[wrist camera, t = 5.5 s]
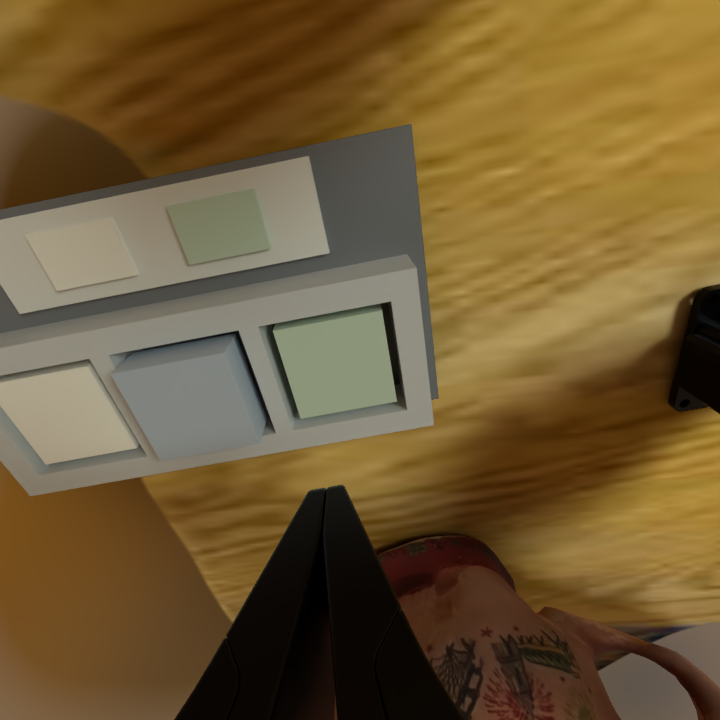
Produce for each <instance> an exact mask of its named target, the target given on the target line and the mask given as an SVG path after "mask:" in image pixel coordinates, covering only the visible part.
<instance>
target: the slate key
mask: <svg viewBox="0 0 720 720" xmlns="http://www.w3.org/2000/svg"><path fill="white" fill-rule="evenodd" d="M110 375H111V376H112V378H113V380H114V381H115V383H116V385H117V387H118V388H119V390H120V392H121V394H122V395H123V397H124V399H125V401H126V402H127V404H128V406H129V407H130V409H131V411H132V413H133V414H134V416H135V418H136V420H137V421H138V423H139V425H140V427H141V428H142V430H143V432H144V434H145V435H146V437H147V439H148V440H149V442H150V444H151V446H152V447H153V449H154V451H155V453H156V454H157V456H158V458H159V460H160V461H163V460H169V459H175V458H180V457H186V456H192V455H197V454H203V453H208V452H214V451H220V450H225V449H231V448H237V447H242V446H248V445H253V444H259V443H260V442H261V438H262V435H263V431H264V427H265V424H266V420H267V417H266V414H265V411H264V409H263V406H262V403H261V401H260V398H259V395H258V393H257V390H256V387H255V385H254V382H253V379H252V376H251V374H250V371H249V368H248V366H247V363H246V360H245V358H244V355H243V352H242V349H241V347H240V344H239V341H238V339H237V336H236V333H234V334H229V335H224V336H219V337H213V338H208V339H203V340H198V341H192V342H187V343H182V344H176V345H171V346H166V347H161V348H155V349H150V350H145V351H140V352H134V353H132V354H131V355H130V356H129V357H128V358H127V359H126V360H125V361H124V362H123V363H121V364H120V365H119V366H118V367H117V368H116V369H115V370H114V371H113V372H112V373H111V374H110Z"/></svg>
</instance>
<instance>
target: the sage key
mask: <svg viewBox="0 0 720 720" xmlns="http://www.w3.org/2000/svg"><path fill="white" fill-rule="evenodd" d="M273 334H274V337H275V340H276V343H277V346H278V349H279V352H280V356H281V359H282V362H283V365H284V368H285V371H286V374H287V378H288V381H289V384H290V387H291V390H292V393H293V396H294V400H295V403H296V406H297V409H298V412H299V415H300V418H301V419H303V418H309V417H314V416H320V415H325V414H331V413H336V412H342V411H347V410H353V409H359V408H364V407H370V406H375V405H381V404H386V403H392V402H397V399H396V392H395V386H394V380H393V374H392V368H391V362H390V356H389V350H388V344H387V337H386V331H385V325H384V319H383V313H382V308H381V305H380V304H375V305H369V306H364V307H359V308H354V309H348V310H343V311H338V312H333V313H327V314H322V315H317V316H312V317H306V318H301V319H296V320H291V321H285V322H280V323H276V324H275V326H274V329H273Z"/></svg>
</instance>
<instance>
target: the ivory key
mask: <svg viewBox="0 0 720 720" xmlns="http://www.w3.org/2000/svg"><path fill="white" fill-rule="evenodd" d="M0 406H1V408H2V409H3V410H4V411H5V413H6V414H7V415H8V417H9V418H10V419H11V420H12V422H13V423H14V424H15V426H16V427H17V428H18V430H19V431H20V432H21V433H22V435H23V436H24V437H25V439H26V440H27V441H28V442H29V444H30V445H31V446H32V448H33V449H34V450H35V452H36V453H37V454H38V455H39V457H40V458H41V459H42V461H43V462H44V463H45V464H52V463H58V462H63V461H69V460H74V459H80V458H85V457H91V456H97V455H102V454H108V453H113V452H119V451H124V450H130V449H136V448H137V447H138V446H139V444H140V443H139V442H138V440H137V438H136V437H135V435H134V433H133V431H132V430H131V428H130V426H129V425H128V423H127V421H126V420H125V418H124V416H123V415H122V413H121V411H120V410H119V408H118V406H117V405H116V403H115V401H114V399H113V398H112V396H111V394H110V393H109V391H108V389H107V388H106V386H105V384H104V383H103V381H102V379H101V378H100V376H99V374H98V373H97V371H96V369H95V367H94V366H93V364H92V362H91V361H90V359H86V360H80V361H75V362H70V363H65V364H59V365H54V366H49V367H44V368H38V369H33V370H28V371H23V372H17V373H12V374H7V375H2V376H0Z"/></svg>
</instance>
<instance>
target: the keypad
mask: <svg viewBox="0 0 720 720" xmlns="http://www.w3.org/2000/svg"><path fill="white" fill-rule="evenodd" d="M375 304H380V305H381V308H382V313H383V319H384V325H385V331H386V337H387V344H388V350H389V356H390V362H391V368H392V374H393V380H394V386H395V392H396V399H397V402H392V403H386V404H381V405H375V406H370V407H364V408H359V409H353V410H347V411H342V412H336V413H331V414H325V415H320V416H314V417H309V418H303V419H301V418H300V415H299V412H298V409H297V406H296V403H295V400H294V396H293V393H292V390H291V387H290V384H289V381H288V378H287V374H286V371H285V368H284V365H283V362H282V359H281V356H280V352H279V349H278V346H277V343H276V340H275V337H274V334H273V329H274V326H275V324H276V323H280V322H285V321H291V320H296V319H301V318H306V317H312V316H317V315H322V314H327V313H333V312H338V311H343V310H348V309H354V308H359V307H364V306H369V305H375ZM234 333H236V336H237V339H238V341H239V344H240V347H241V349H242V352H243V355H244V358H245V360H246V363H247V366H248V368H249V371H250V374H251V376H252V379H253V382H254V385H255V387H256V390H257V393H258V395H259V398H260V401H261V403H262V406H263V409H264V411H265V414H266V417H267V420H266V424H265V427H264V431H263V435H262V438H261V442H260V443H259V444H253V445H248V446H242V447H237V448H231V449H225V450H220V451H214V452H208V453H203V454H197V455H192V456H186V457H180V458H175V459H169V460H163V461H160V460H159V458H158V456H157V454H156V453H155V451H154V449H153V447H152V446H151V444H150V442H149V440H148V439H147V437H146V435H145V434H144V432H143V430H142V428H141V427H140V425H139V423H138V421H137V420H136V418H135V416H134V414H133V413H132V411H131V409H130V407H129V406H128V404H127V402H126V401H125V399H124V397H123V395H122V394H121V392H120V390H119V388H118V387H117V385H116V383H115V381H114V380H113V378H112V376H111V375H110V374H111V373H112V372H113V371H114V370H115V369H116V368H117V367H118V366H119V365H120V364H121V363H123V362H124V361H125V360H126V359H127V358H128V357H129V356H130V355H131V354H132V353H134V352H140V351H145V350H150V349H155V348H161V347H166V346H171V345H176V344H182V343H187V342H192V341H198V340H203V339H208V338H213V337H219V336H224V335H229V334H234ZM86 359H90V361H91V362H92V364H93V366H94V367H95V369H96V371H97V373H98V374H99V376H100V378H101V379H102V381H103V383H104V384H105V386H106V388H107V389H108V391H109V393H110V394H111V396H112V398H113V399H114V401H115V403H116V405H117V406H118V408H119V410H120V411H121V413H122V415H123V416H124V418H125V420H126V421H127V423H128V425H129V426H130V428H131V430H132V431H133V433H134V435H135V437H136V438H137V440H138V442H139V443H140V444H139V446H138V447H137V448H136V449H130V450H124V451H119V452H113V453H108V454H102V455H97V456H91V457H85V458H80V459H74V460H69V461H63V462H58V463H52V464H45V463H44V462H43V461H42V459H41V458H40V457H39V455H38V454H37V453H36V452H35V450H34V449H33V448H32V446H31V445H30V444H29V442H28V441H27V440H26V439H25V437H24V436H23V435H22V433H21V432H20V431H19V430H18V428H17V427H16V426H15V424H14V423H13V422H12V420H11V419H10V418H9V417H8V415H7V414H6V413H5V411H4V410H3V409H2V408H1V406H0V461H1V462H2V463H3V465H4V466H5V467H6V468H7V469H8V470H9V472H10V473H11V474H12V475H13V476H14V477H15V479H16V480H17V481H18V482H19V483H20V485H21V486H22V487H23V488H24V489H25V491H26V492H27V493H28V494H29V495H30V496H35V495H41V494H47V493H52V492H58V491H64V490H69V489H75V488H81V487H86V486H92V485H98V484H103V483H109V482H115V481H120V480H126V479H131V478H137V477H143V476H149V475H154V474H160V473H166V472H171V471H177V470H183V469H188V468H194V467H200V466H205V465H211V464H217V463H222V462H228V461H234V460H239V459H245V458H251V457H256V456H262V455H268V454H273V453H279V452H285V451H290V450H296V449H302V448H307V447H313V446H319V445H324V444H330V443H336V442H341V441H347V440H353V439H358V438H364V437H370V436H375V435H381V434H387V433H392V432H398V431H404V430H409V429H415V428H421V427H426V426H432V425H434V420H433V411H432V402H431V400H433V399H438V387H437V377H436V367H435V357H434V347H433V337H432V327H431V317H430V307H429V297H428V287H427V277H426V267H425V257H424V247H423V237H422V226H421V216H420V206H419V196H418V186H417V176H416V166H415V156H414V146H413V136H412V126H411V124H409V125H404V126H400V127H395V128H390V129H385V130H380V131H376V132H371V133H366V134H361V135H356V136H352V137H347V138H342V139H337V140H332V141H328V142H323V143H318V144H313V145H308V146H304V147H299V148H294V149H289V150H284V151H280V152H275V153H270V154H265V155H260V156H256V157H251V158H246V159H241V160H236V161H232V162H227V163H222V164H217V165H212V166H208V167H203V168H198V169H193V170H188V171H184V172H179V173H174V174H169V175H164V176H160V177H155V178H150V179H145V180H140V181H136V182H131V183H126V184H121V185H117V186H112V187H107V188H102V189H97V190H93V191H88V192H83V193H78V194H74V195H68V196H64V197H59V198H54V199H49V200H44V201H40V202H35V203H30V204H25V205H21V206H16V207H11V208H6V209H1V210H0V376H2V375H7V374H12V373H17V372H23V371H28V370H33V369H38V368H44V367H49V366H54V365H59V364H65V363H70V362H75V361H80V360H86Z"/></svg>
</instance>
